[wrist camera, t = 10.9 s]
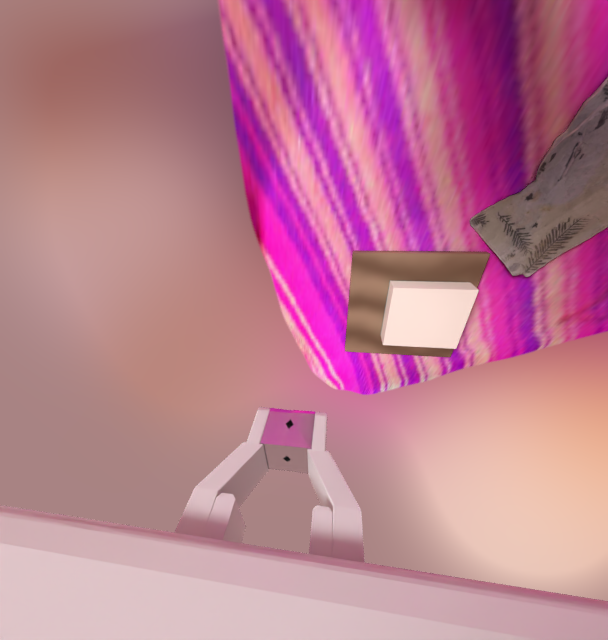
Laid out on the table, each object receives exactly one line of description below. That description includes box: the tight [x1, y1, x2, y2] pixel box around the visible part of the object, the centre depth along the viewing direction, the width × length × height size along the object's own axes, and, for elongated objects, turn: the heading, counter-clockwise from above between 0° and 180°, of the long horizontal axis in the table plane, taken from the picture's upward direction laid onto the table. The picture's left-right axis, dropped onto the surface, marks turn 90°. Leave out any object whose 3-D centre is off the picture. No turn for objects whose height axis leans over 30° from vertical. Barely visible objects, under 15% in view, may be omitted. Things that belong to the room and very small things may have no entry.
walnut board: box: [345, 251, 490, 357], centre depth 38 cm, size 18×18×1 cm
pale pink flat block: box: [380, 281, 479, 349], centre depth 37 cm, size 10×3×11 cm
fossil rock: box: [470, 77, 608, 277], centre depth 28 cm, size 18×15×2 cm
